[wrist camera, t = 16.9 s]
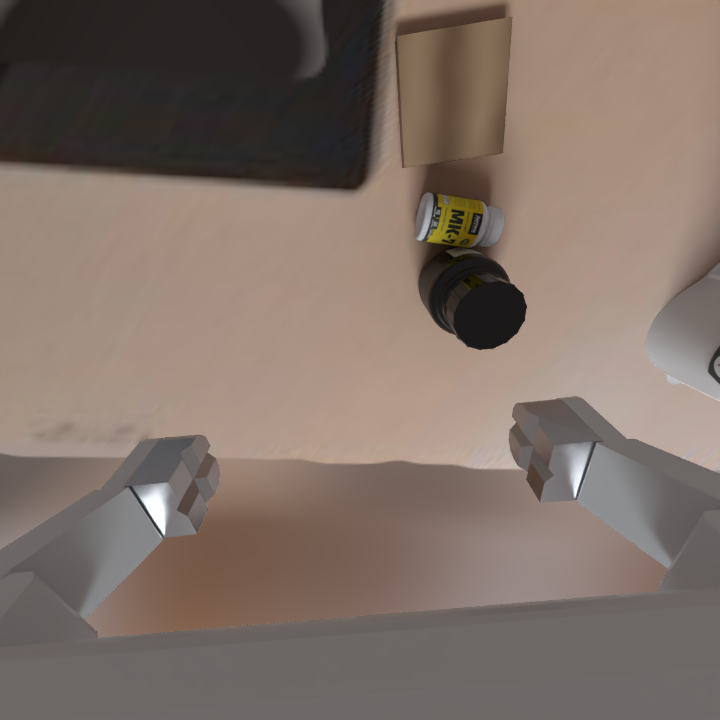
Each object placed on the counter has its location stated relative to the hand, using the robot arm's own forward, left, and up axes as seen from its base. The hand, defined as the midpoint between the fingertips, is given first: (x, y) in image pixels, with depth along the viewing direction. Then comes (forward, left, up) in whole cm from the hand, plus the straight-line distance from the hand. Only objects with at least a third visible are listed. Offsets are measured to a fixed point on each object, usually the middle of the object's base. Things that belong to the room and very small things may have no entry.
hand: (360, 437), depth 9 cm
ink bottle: (-12, +6, -33) cm, 36 cm away
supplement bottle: (-7, -2, -31) cm, 32 cm away
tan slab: (-11, -12, -34) cm, 37 cm away
